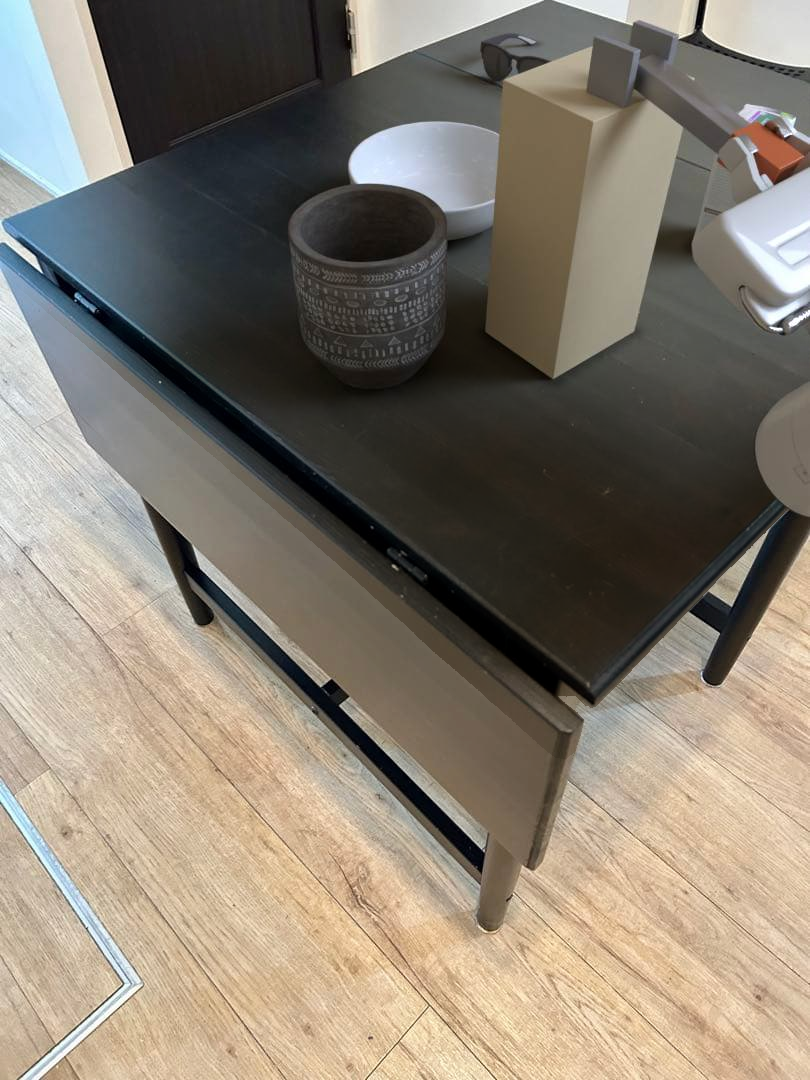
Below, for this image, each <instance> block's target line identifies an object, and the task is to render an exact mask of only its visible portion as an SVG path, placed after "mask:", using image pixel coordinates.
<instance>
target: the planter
mask: <svg viewBox="0 0 810 1080" xmlns="http://www.w3.org/2000/svg"><path fill="white" fill-rule="evenodd" d="M287 236H288V242H289V249H290V260H291V268H292V276H293V282H294V283H293V284H294V289H295V295H296V302H297V312H298V313H297V314H298V321H299V327H300V332H301V336H302V340H303V343H304V344H305V346H306V347H307V349H308V350H309V351H310V353H311V354H312V355H313V356H314V357H315V358H316V359H317V361H318V362H319V363H320V364H321V365H322V366H323V367H324V368H325V369H326V370H328V371H329V372H330V374H332V375H333V376H334V377H335V378H336V379H338V380H339V381H341V383H344V384H346V385H348V386H350V387H351V386H352V387H355V388H359V389H366V390H379V389H380V390H381V389H387V388H392V387H395V386H398V385H400V384H402V383H404V382H407V381H408V380H409V379H411V378H412V377H413V376H414V375H416V373H417V372H418V371H419V370H420V369H421V368H422V367H423V365H424V364H425V363H426V362H427V361H428V360H429V358H430V357H431V356H432V354H433V353H434V352H435V350H436V349H437V347H439V344H440V343H441V341H442V340H443V336H444V334H445V328H446V318H447V316H446V315H447V291H446V288H447V272H448V271H447V269H448V240H447V220H446V216H445V214H444V212H443V210H442V209H441V208H440V206H439V205H438V204H437V203H436V202H434V201H433V200H432V199H430V198H429V197H427V196H426V195H424V194H422V193H420V192H417V191H414V190H411V189H407V188H403V187H399V186H394V185H386V184H372V183H366V184H352V185H351V184H347V185H341V186H338V187H337V186H336V187H334V188H330V189H328V190H325V191H322V192H321V193H318V194H316V195H314V196H312V197H311V198H309V199H307V200H306V201H305V202H303V203H302V204H300V206H298V208H296V210H294V212H293V213H292V214H291V217H290V218H289V220H288V224H287Z"/></svg>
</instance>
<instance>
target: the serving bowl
mask: <svg viewBox="0 0 810 1080" xmlns="http://www.w3.org/2000/svg"><path fill="white" fill-rule="evenodd" d="M498 147H499V133H498V132H495V131H493V130H490V129H487V128H484V127H481V126H477V125H474V124H473V125H472V124H467V123H463V122H454V121H420V122H411V123H406V124H400V125H396V126H393V127H389V128H387V129H383V130H381V131H378V132H376V133H374V134H372V135H370V136H369V137H366V138H365V139H364V140H362V141H361V142H360V143H359V144H358V145H357V146H356V147H355V148H354V149H353V151H351V154H350V156H349V158H348V162H347V172H348V177H349V181H350V185H352V184H366V183H372V184H386V185H394V186H399V187H403V188H407V189H411V190H414V191H417V192H420V193H422V194H424V195H426V196H427V197H429V198H430V199H432V200H433V201H434V202H436V203H437V204H438V205H439V206H440V208H441V209H442V210H443V212H444V214H445V216H446V220H447V241H453V240H460V239H465V238H469V237H473V236H475V235H478V234H481V233H482V232H485V231H486V230H489V229H490V228H493V217H494V203H495V189H496V175H497V161H498Z"/></svg>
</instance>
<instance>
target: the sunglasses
mask: <svg viewBox="0 0 810 1080" xmlns="http://www.w3.org/2000/svg"><path fill="white" fill-rule="evenodd" d="M509 39H518V40H520V41H523V42H524V43H526V44H528V45H529V46H533V45H536V44H537V42H538V41H537V40H536V39H534V38H531V37H528V36H525V35H523V34H520V33H515V32H514V33H513V32H510V33H509V32H508V33H503V34H499V35H495V36H492V37H489V38H487V39H484V40H482V41H481V42H480V49H479V51H480V54H481V59H482V64H483V69H484V71H485V73H486V75H487V76H488V77H489V78H490V80H492V81H494V82H498V83H499V82H503V80H504V79H507V78H508V77H509V75H510V74H511V73H512V71H513V61H516V63H515V67H516V70H517V74H520V73H523V72H525V71H528V70H531V69H533V68H536V67H538V66H541V65H544V64H546V63H549V62H552V61H553V60H550V59H546V58H543V57H540V56H535V55H522V56H521V55H517V54H513V53H511V52H510V51H509V50H507V49H506V48H504V47H502V46H501V44H502V43H503V42H505V41H506V40H509Z"/></svg>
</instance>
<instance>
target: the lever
mask: <svg viewBox="0 0 810 1080" xmlns="http://www.w3.org/2000/svg"><path fill="white" fill-rule="evenodd" d="M687 75H688V74H686V73H684V72H683V71H682V70H681V69H680V68H678V67H677V66H676V65H674V64H673V65H672V64H671V63H670V62H668V61H667V60H666V59H664V58H663V57H662V56H660V55H659V54H658V53H654V54H652V55H649V56H647V57H644V58H642V59H639V62H638V67H637V73H636V78H635V83H634V89H635V90H636V91H637V92H639V93H640V94H641V95H643V96H644V97H645V98H646V99H648V100H649V101H650V102H651V103H653V104H654V105H655V106H657V107H658V108H659V109H660V110H662V111H663V112H664V113H665V114H667V115H668V116H669V117H671V118H672V119H673V120H674V121H676V122H677V123H678V124H680V125H681V126H682V127H683V129H684V130H685V131H687V132H688V133H690V135H692V136H693V137H694V138H696V139H697V140H698V141H699V142H701V143H702V144H703V145H705V146H706V147H707V148H709V149H710V150H711V151H713V152H714V153H715V154H718V155H719V150H720V149H721V148H722V147H723V146H724V144H725V143H726V142H727V141H728V140H729V139H731V138H733V137H736V136H738V135H740V134H742V133H746V134H748V135H749V136H750V138H751V141H752V142H754V143H755V145H756V146H757V147H758V149H759V151H758V152H757V153H756V154H755V155H754V159H755V162H756V166H757V169H758V172H759V175H760V176H761V175H763V174H766V175H767V177H768V178H769V179H770V181H771V182H772V183H773V185H776V184H778V183H780V182H782V181H784V180H785V179H787V178H789V177H791V176H793V174H794V173H795V171H796V169H797V168H798V166H799V164H800V163H801V161H802V160H803V158H804V155H802V154H801V153H800V152H798V151H797V150H796V149H794V148H793V147H792V146H790V145H789V144H788V143H786V142H785V141H784V140H782V139H781V138H780V137H778V136H777V135H776V134H774V133H773V132H772V131H770V130H769V129H768V128H766V127H765V126H764V125H762V124H761V123H760V122H758V121H757V122H755V123H752V124H750V123H749V122H748V121H746V120H745V119H744V118H743V117H741V116H740V115H739V114H737V112H736V111H735V110H734V109H732V108H731V107H729V105H727V104H726V103H724V102H723V101H722V100H720V99H719V98H718V97H716V96H715V95H713V93H711V92H709V91H708V90H707V89H706V88H704V87H703V86H702V85H700V84H699V83H698V82H696V81H695V80H692V79H691V78H690V77H688V76H689V75H688V76H687ZM718 163H719V164H720V165H722V166H723V167H724V168H725V169H727V168H726V167H725V165H724V164H723V162H722V161H721V160H720V158H719V160H718ZM727 170H728V169H727Z"/></svg>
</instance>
